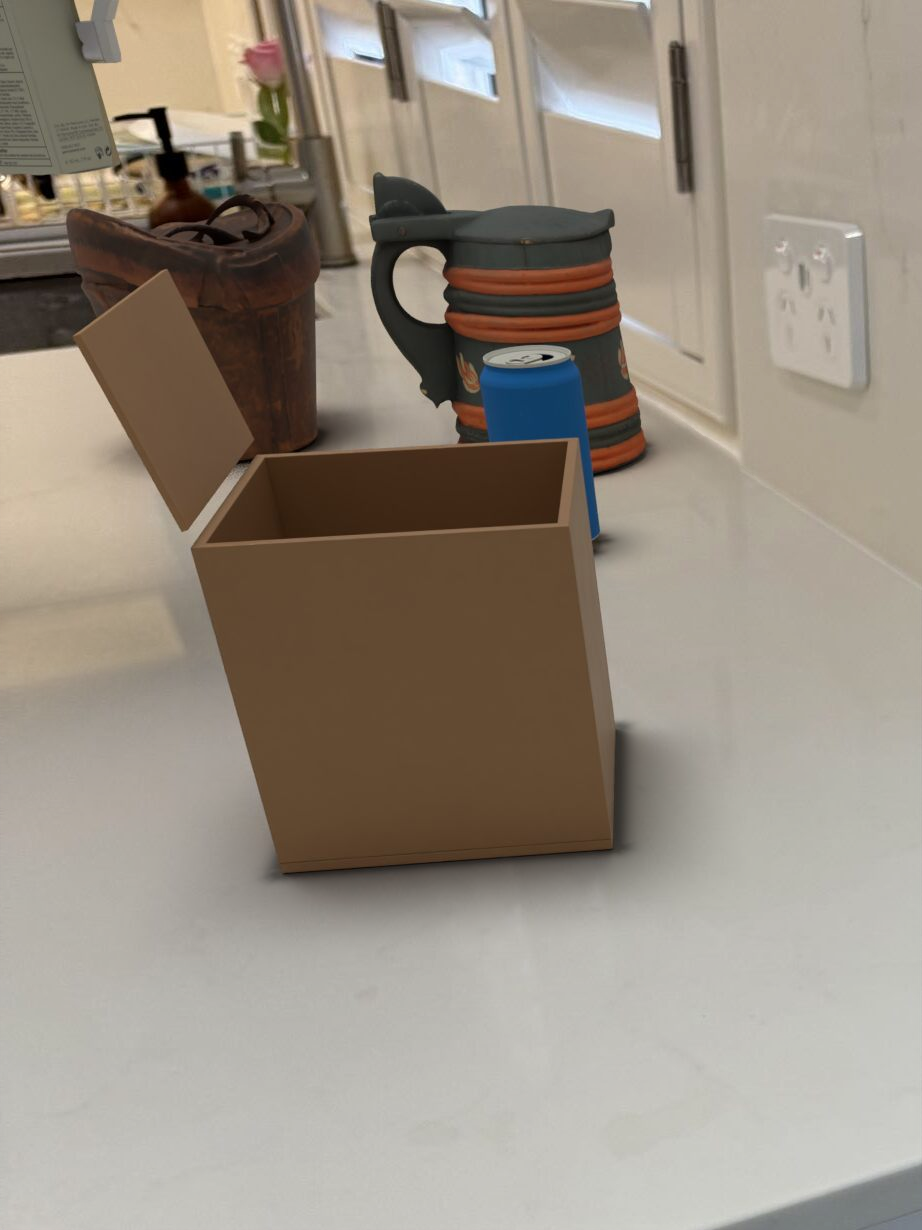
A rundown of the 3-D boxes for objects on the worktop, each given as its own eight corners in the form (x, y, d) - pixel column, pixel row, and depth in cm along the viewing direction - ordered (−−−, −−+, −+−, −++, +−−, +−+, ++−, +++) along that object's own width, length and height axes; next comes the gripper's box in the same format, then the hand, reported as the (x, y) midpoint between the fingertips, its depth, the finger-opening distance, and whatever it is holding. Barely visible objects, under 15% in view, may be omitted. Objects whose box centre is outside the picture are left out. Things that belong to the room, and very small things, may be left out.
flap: (188, 530, 62) (181, 532, 62) (254, 439, 73) (248, 441, 73) (79, 333, 58) (71, 336, 58) (167, 268, 69) (160, 270, 69)
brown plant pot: (388, 413, 139) (341, 176, 128) (303, 477, 123) (241, 213, 112) (195, 413, 141) (133, 179, 130) (87, 476, 125) (5, 216, 114)
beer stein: (418, 498, 118) (359, 188, 106) (398, 450, 129) (342, 164, 117) (664, 469, 123) (635, 169, 111) (624, 425, 134) (594, 148, 122)
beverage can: (620, 540, 109) (598, 350, 102) (556, 567, 105) (528, 370, 97) (552, 526, 112) (525, 340, 104) (487, 551, 108) (454, 359, 100)
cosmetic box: (124, 168, 85) (48, -121, 78) (60, 178, 82) (-25, -122, 74) (39, 164, 87) (-43, -118, 80) (-27, 174, 84) (-118, -119, 77)
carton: (281, 873, 72) (189, 547, 63) (328, 747, 83) (255, 454, 74) (612, 849, 73) (569, 525, 64) (615, 727, 84) (578, 437, 75)
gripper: (-353, -300, 70) (-215, 77, 78) (121, -307, 72) (207, 63, 80) (-289, -285, 75) (-165, 68, 83) (154, -292, 76) (231, 55, 85)
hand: (21, 65), depth 82 cm, fingers closed on cosmetic box, 7 cm apart
